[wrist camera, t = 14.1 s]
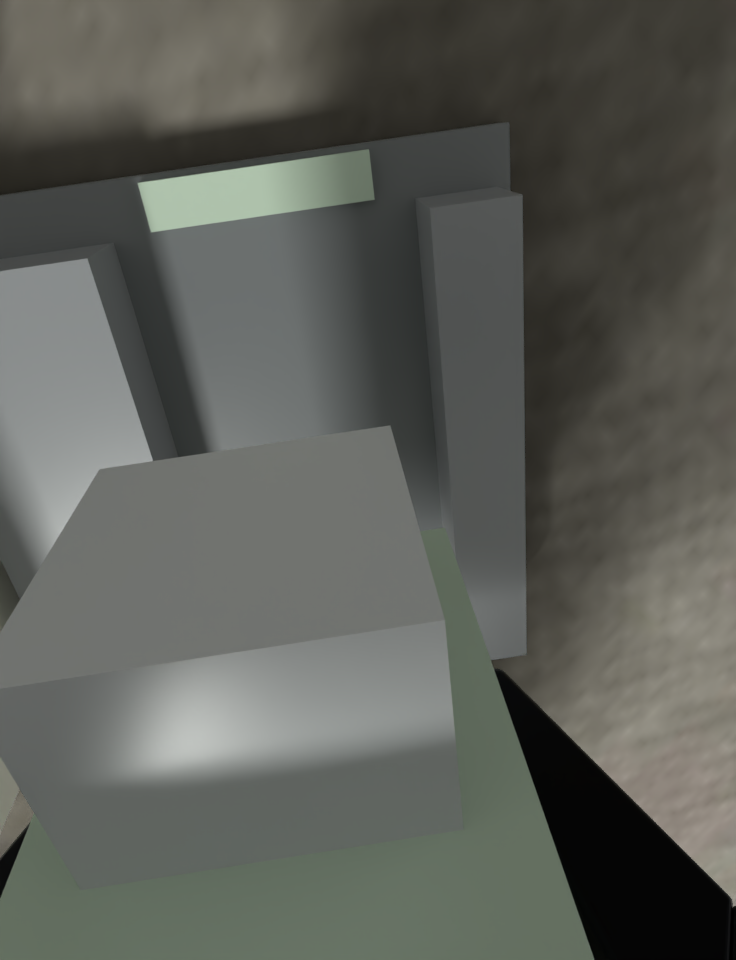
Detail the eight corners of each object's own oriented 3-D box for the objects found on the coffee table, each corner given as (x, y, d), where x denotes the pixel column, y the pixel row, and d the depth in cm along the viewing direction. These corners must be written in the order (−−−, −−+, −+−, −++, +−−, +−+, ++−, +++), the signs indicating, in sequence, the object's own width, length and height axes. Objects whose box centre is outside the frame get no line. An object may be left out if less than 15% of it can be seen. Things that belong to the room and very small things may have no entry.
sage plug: (474, 886, 12) (570, 1321, 8) (260, 920, 12) (233, 1378, 8) (432, 377, 7) (630, 767, 3) (73, 430, 7) (-301, 914, 3)
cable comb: (511, 593, 17) (537, 652, 15) (-169, 698, 17) (-230, 772, 15) (500, 121, 12) (537, 121, 10) (-493, 266, 12) (-654, 294, 10)
